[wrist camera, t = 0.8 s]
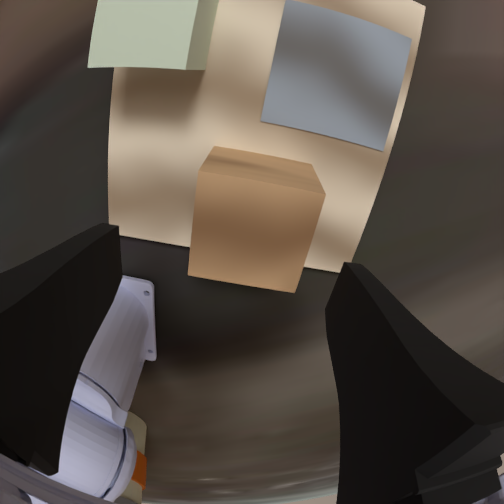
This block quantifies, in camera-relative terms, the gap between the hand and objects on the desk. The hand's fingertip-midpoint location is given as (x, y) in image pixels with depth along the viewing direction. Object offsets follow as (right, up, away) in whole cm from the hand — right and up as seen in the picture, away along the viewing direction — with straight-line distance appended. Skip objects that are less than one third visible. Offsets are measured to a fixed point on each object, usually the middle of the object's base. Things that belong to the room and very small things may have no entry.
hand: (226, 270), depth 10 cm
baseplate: (+1, +8, +6) cm, 11 cm away
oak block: (+1, +4, +8) cm, 9 cm away
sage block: (-3, +12, +3) cm, 13 cm away
